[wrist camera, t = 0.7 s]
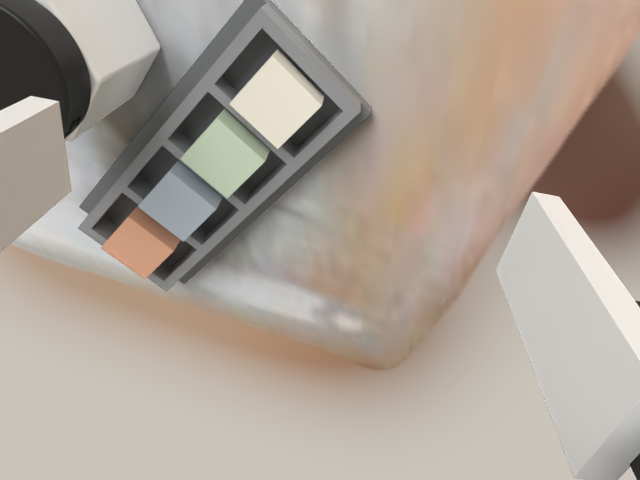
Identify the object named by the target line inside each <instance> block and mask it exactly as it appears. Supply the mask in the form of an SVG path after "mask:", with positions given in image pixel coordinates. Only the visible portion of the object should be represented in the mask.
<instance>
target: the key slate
mask: <svg viewBox="0 0 640 480" xmlns="http://www.w3.org/2000/svg"><path fill="white" fill-rule="evenodd" d="M222 198H223V196H222V195H221V194H219V193H218V192H217V191H216V190H215V189H213V188H212V187H211V186H210V185H209V184H207V183H206V182H205V181H204V180H203V179H201V178H200V177H199V176H198V175H197V174H195V173H194V172H193V171H192V170H191V169H189V168H188V167H187V166H186V165H185V164H184V163H182V162H181V161H180V160H178V161H177V162H176V163H175V164H174V166H173V167H172V168H171V169H170V170H169V171H168V172H167V173H166V175H165V176H164V177H163V178H162V179H161V180H160V181H159V182H158V183H157V185H156V186H155V187H154V188H153V189H152V190H151V191H150V192H149V194H148V195H147V196H146V197H145V198H144V200H143V201H142V202H141V203H140V204H139V206H138V207H139V208H140V209H141V210H143V211H144V212H145V213H147V214H148V215H149V216H150V217H152V218H153V219H154V220H156V221H157V222H158V223H160V224H161V225H162V226H163V227H165V228H166V229H167V230H169V231H170V232H171V233H173V234H174V235H175V236H176V237H178V238H179V239H180V240H182V241H183V242H184V241H185V240H186V239H187V238H188V237H189V236H190V235H191V234H192V233H193V232H194V231H195V230H196V229H197V228H198V227H199V226H200V225H201V224H202V223H203V222H204V221H205V220H206V219H207V218H208V217H209V216H210V215H211V214H212V213H213V212H214V211H215V210H216V209H217V207H218V205H219V203H220V202H221V200H222Z"/></svg>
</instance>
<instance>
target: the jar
mask: <svg viewBox="0 0 640 480" xmlns="http://www.w3.org/2000/svg"><path fill="white" fill-rule="evenodd" d="M160 48H161V46H160V44H159V42H158V40H157V38H156V36H155V34H154V33H153V31H152V29H151V27H150V25H149V23H148V22H147V20H146V18H145V16H144V14H143V12H142V11H141V9H140V7H139V5H138V3H137V1H136V0H0V110H3V109H5V108H7V107H9V106H11V105H13V104H15V103H17V102H19V101H21V100H23V99H26V98H28V97H30V96H34V97H39V98H45V99H50V100H55V101H59V104H60V111H61V119H62V126H63V133H64V140H65V141H72V140H74V139H75V138H76V137H78V136H79V135H81V134H82V133H83V132H85V131H86V130H88V129H89V128H90V127H92V126H93V125H95V124H96V123H97V122H99V121H100V120H102V119H103V118H104V117H106V116H107V115H109V114H110V113H111V112H113V111H114V110H116V109H117V108H118V107H120V106H121V105H122V104H124V103H125V102H127V101H128V100H129V99H131V98H132V97H134V96H135V94H136V92H137V91H138V89H139V87H140V85H141V83H142V81H143V80H144V78H145V76H146V74H147V72H148V70H149V69H150V67H151V65H152V63H153V61H154V60H155V58H156V56H157V54H158V52H159V51H160Z"/></svg>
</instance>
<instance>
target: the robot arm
mask: <svg viewBox="0 0 640 480" xmlns="http://www.w3.org/2000/svg"><path fill="white" fill-rule="evenodd" d="M70 192H71V183H70V176H69V169H68V162H67V155H66V147H65V140H64V133H63V126H62V119H61V111H60V104H59V101H55V100H50V99H45V98H39V97H34V96H30V97H28V98H26V99H23V100H21V101H19V102H17V103H15V104H13V105H11V106H9V107H7V108H5V109H3V110H0V252H1V251H2V250H3V249H5V248H6V247H7V246H8V245H9V244H11V243H12V242H13V241H14V240H15V239H16V238H18V237H19V236H20V235H21V234H22V233H23V232H24V231H26V230H27V229H28V228H29V227H30V226H31V225H33V224H34V223H35V222H36V221H37V220H38V219H39V218H41V217H42V216H43V215H44V214H45V213H46V212H48V211H49V210H50V209H51V208H52V207H53V206H55V205H56V204H57V203H58V202H59V201H60V200H61V199H63V198H64V197H65V196H66V195H67V194H68V193H70ZM496 273H497V275H498V278H499V281H500V283H501V286H502V288H503V291H504V294H505V296H506V299H507V302H508V305H509V307H510V309H511V312H512V315H513V318H514V320H515V323H516V326H517V328H518V331H519V333H520V336H521V339H522V341H523V344H524V346H525V349H526V352H527V355H528V357H529V360H530V363H531V365H532V368H533V371H534V373H535V376H536V379H537V381H538V384H539V386H540V389H541V392H542V395H543V397H544V400H545V403H546V405H547V408H548V410H549V413H550V416H551V418H552V421H553V423H554V426H555V429H556V432H557V434H558V437H559V440H560V442H561V445H562V447H563V450H564V453H565V455H566V458H567V461H568V463H569V466H570V468H571V471H572V474H573V477H574V478H578V479H584V480H618V479H619V478H620V477H621V476H622V475H623V474H624V473H625V472H626V470H627V469H628V468H629V467H630V466H631V468H632V470H633V472H634V474H635V476H636V478H637V480H640V302H638V301H635V300H634V299H633V298H632V296H631V295H630V294H629V292H628V291H627V289H626V288H625V287H624V285H623V284H622V283H621V281H620V280H619V278H618V277H617V276H616V274H615V273H614V271H613V270H612V269H611V267H610V266H609V265H608V263H607V262H606V261H605V259H604V258H603V256H602V255H601V254H600V252H599V251H598V249H597V248H596V247H595V245H594V244H593V243H592V241H591V240H590V238H589V237H588V236H587V234H586V233H585V232H584V230H583V229H582V228H581V226H580V225H579V223H578V222H577V220H576V219H575V218H574V216H573V215H572V214H571V212H570V211H569V209H568V208H567V207H566V205H565V204H564V203H563V201H562V200H561V199H560V197H557V196H552V195H547V194H542V193H536V192H532V193H531V196H530V198H529V200H528V202H527V204H526V206H525V208H524V211H523V213H522V215H521V217H520V219H519V221H518V223H517V226H516V228H515V230H514V232H513V234H512V236H511V238H510V241H509V243H508V245H507V247H506V249H505V251H504V254H503V256H502V258H501V260H500V262H499V265H498V266H497V268H496Z"/></svg>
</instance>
